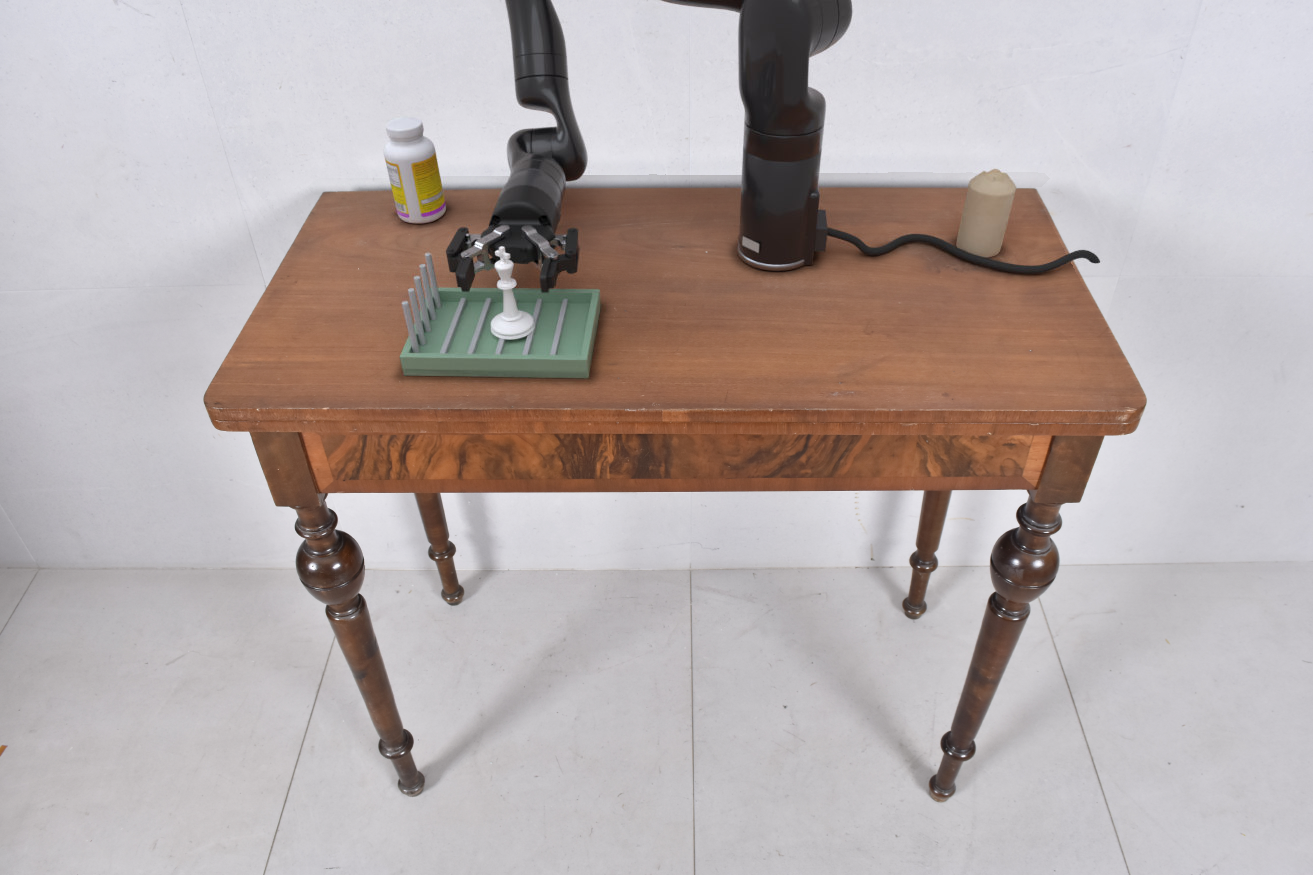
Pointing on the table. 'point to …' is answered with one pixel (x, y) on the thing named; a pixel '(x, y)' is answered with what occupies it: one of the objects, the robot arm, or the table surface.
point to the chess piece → (509, 304)
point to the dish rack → (465, 346)
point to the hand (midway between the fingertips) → (503, 285)
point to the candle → (986, 213)
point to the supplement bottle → (413, 171)
